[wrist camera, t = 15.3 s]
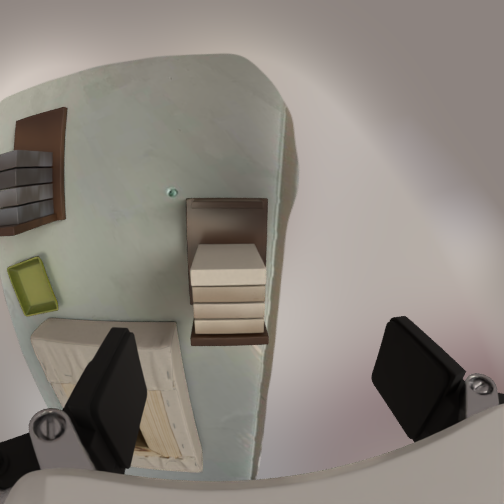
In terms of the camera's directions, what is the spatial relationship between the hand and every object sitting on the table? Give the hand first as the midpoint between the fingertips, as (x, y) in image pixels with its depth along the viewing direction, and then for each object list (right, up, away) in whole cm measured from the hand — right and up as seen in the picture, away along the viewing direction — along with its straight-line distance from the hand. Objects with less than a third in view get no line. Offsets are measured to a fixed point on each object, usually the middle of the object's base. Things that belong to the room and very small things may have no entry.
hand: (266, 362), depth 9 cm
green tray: (-35, -1, +25) cm, 43 cm away
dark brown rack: (-4, +4, +27) cm, 28 cm away
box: (-22, -21, +32) cm, 45 cm away
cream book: (-4, +4, +26) cm, 27 cm away
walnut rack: (-31, +16, +21) cm, 41 cm away
